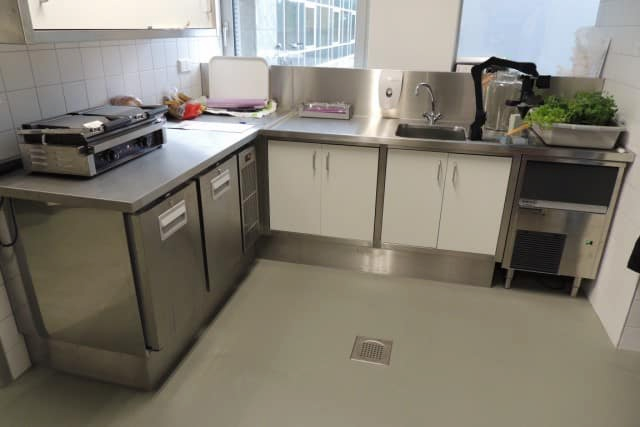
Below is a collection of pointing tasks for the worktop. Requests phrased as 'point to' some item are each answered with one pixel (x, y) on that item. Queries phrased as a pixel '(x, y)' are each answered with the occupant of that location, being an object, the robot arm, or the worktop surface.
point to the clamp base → (514, 141)
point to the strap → (517, 129)
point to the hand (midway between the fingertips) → (522, 119)
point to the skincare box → (515, 124)
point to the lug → (530, 139)
